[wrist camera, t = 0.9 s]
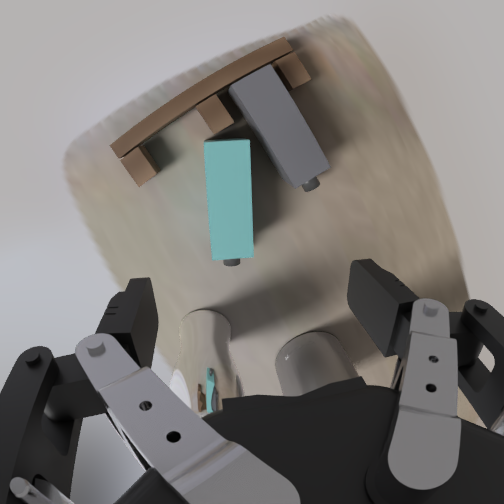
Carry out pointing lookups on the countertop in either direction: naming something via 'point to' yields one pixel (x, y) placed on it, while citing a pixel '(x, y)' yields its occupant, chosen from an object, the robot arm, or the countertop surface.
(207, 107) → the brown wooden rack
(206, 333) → the beer glass
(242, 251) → the teal plug
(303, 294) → the countertop surface
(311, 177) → the charcoal plug
